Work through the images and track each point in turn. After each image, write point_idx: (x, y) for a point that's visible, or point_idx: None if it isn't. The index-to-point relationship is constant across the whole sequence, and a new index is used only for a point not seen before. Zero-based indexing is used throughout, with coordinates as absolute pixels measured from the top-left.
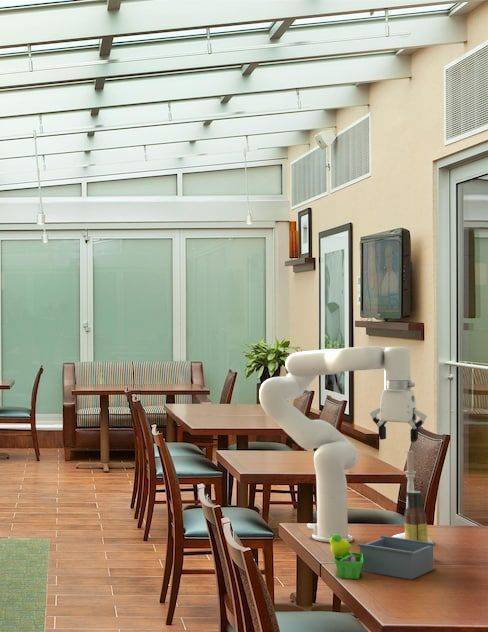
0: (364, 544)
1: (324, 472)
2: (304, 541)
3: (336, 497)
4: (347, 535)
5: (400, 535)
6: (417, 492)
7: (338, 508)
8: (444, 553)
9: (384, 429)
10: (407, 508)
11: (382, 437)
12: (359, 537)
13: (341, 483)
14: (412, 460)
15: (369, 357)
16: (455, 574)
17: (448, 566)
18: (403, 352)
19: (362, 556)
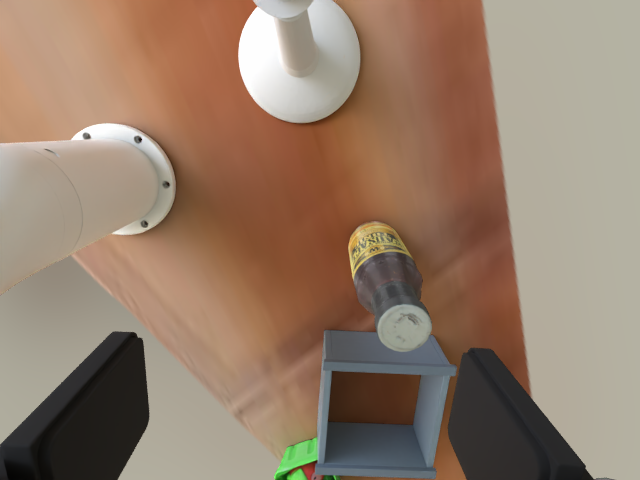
0: (328, 471)
1: None
2: (86, 252)
3: (76, 250)
4: (154, 173)
5: (275, 84)
6: (422, 340)
7: (104, 232)
8: (415, 152)
9: (82, 459)
10: (371, 308)
11: (140, 428)
12: (159, 97)
13: (49, 251)
14: None
15: None
16: (479, 343)
17: (453, 285)
18: None
19: (335, 478)
